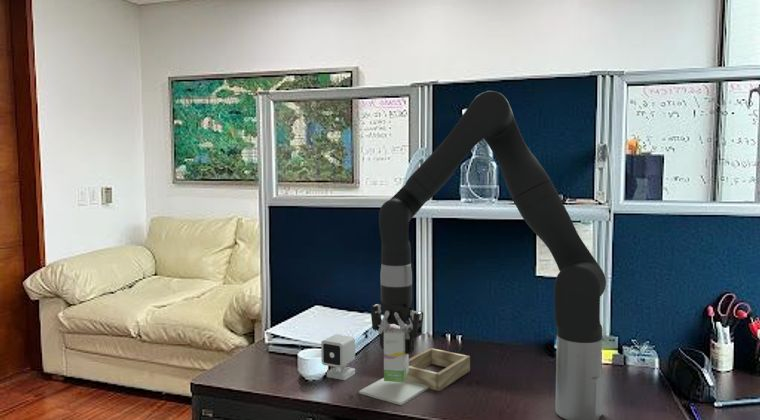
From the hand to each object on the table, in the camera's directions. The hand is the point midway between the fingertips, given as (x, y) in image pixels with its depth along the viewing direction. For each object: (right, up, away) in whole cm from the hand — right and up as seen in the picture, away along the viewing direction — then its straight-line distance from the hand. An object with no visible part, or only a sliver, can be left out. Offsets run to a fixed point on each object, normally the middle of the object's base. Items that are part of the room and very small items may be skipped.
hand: (396, 350), depth 141 cm
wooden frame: (+10, -9, +10) cm, 16 cm away
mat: (0, -10, +1) cm, 10 cm away
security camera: (-14, -9, +10) cm, 20 cm away
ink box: (0, -6, +1) cm, 6 cm away
